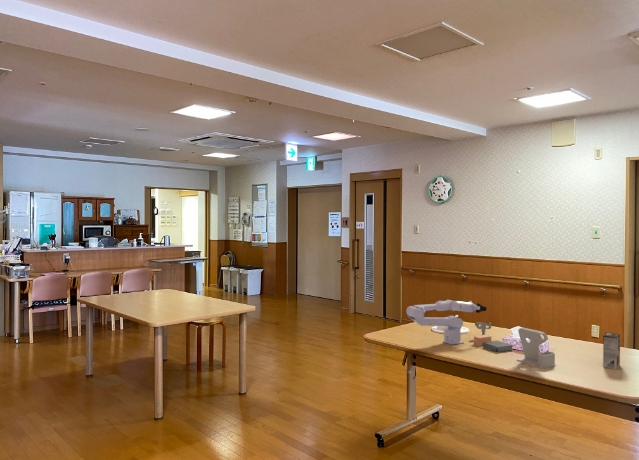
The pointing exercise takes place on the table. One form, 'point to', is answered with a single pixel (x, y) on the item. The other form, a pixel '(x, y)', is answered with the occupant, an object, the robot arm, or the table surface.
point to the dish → (442, 328)
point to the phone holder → (535, 348)
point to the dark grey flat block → (497, 346)
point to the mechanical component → (482, 326)
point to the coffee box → (611, 350)
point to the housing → (481, 339)
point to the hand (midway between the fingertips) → (482, 308)
